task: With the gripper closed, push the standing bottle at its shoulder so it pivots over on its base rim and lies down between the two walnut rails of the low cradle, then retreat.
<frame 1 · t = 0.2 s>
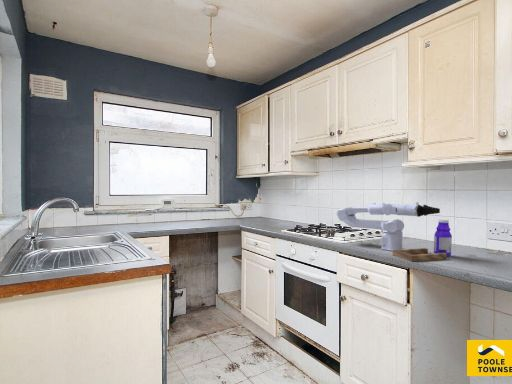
hand: (437, 211, 143), 22 cm above the countertop, tool horizontal, fingers open, 7 cm apart
bottle: (442, 256, 145), on the countertop
cradle: (422, 256, 142), on the countertop
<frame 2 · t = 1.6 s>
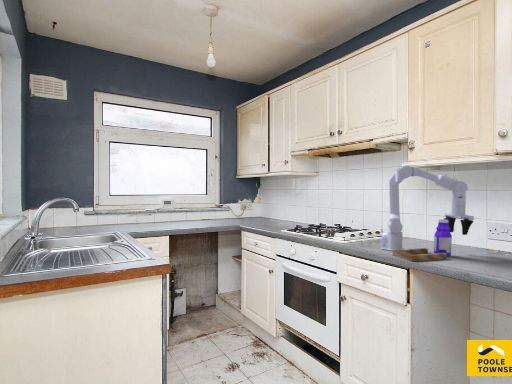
hand: (457, 233, 147), 10 cm above the countertop, tool pointing down, fingers open, 7 cm apart
nothing on the countertop moved.
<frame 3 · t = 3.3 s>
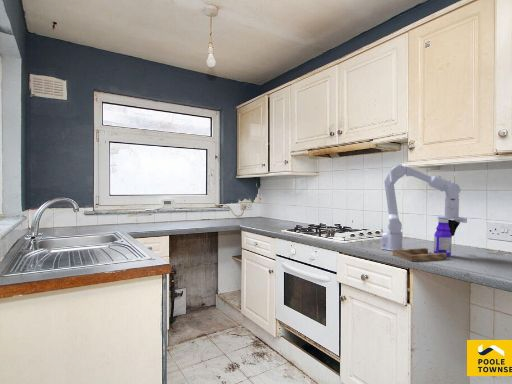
hand: (451, 235, 146), 9 cm above the countertop, tool pointing down, fingers closed, pressing on bottle
bottle: (442, 255, 145), on the countertop, touching gripper
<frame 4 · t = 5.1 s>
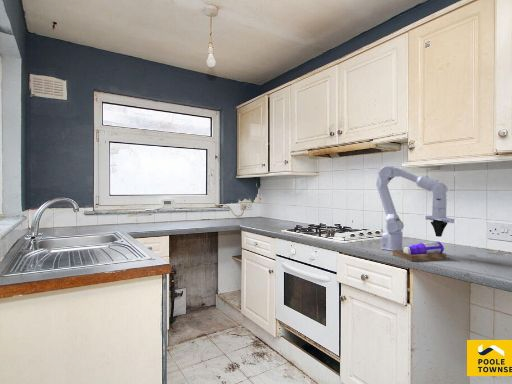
hand: (438, 236, 144), 9 cm above the countertop, tool pointing down, fingers closed
bottle: (440, 248, 142), point 4 cm above the countertop, touching cradle
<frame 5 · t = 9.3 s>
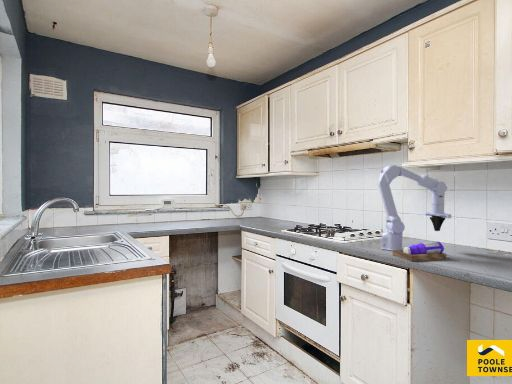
hand: (437, 230, 156), 10 cm above the countertop, tool pointing down, fingers closed
nothing on the countertop moved.
at the end: bottle tilted 94°; bottle inside the target area on the cradle (8.2 cm from its centre), point 4.2 cm above the cradle's base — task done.
